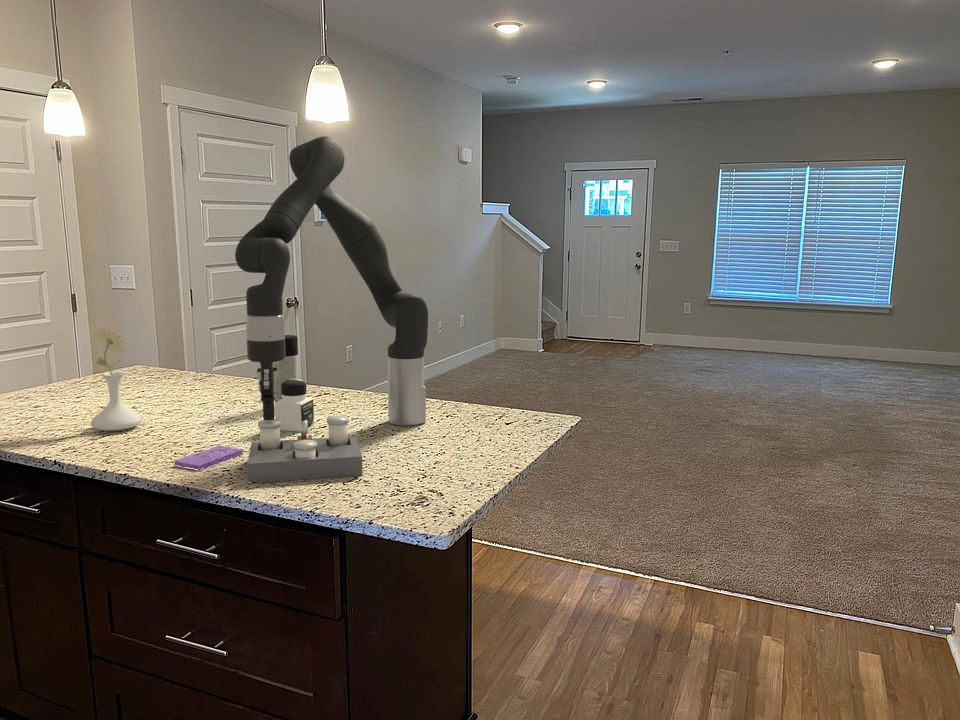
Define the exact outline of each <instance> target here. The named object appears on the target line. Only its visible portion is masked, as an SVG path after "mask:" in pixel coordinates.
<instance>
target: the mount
mask: <svg viewBox="0 0 960 720" xmlns="http://www.w3.org/2000/svg"><path fill="white" fill-rule="evenodd" d="M312 440H314V441H316V442H317V447H316V448H315V451H316V457H310V458H295V449H294V448H293V443H294V442H296V441H297V439H287V440H286V439H283V440H281V439H280V449H275V450H261V446H260V441H252V442H251V443H250V449H249V454H248V459H247V464H246V465H247V483H248V482H263V483H273V482H272V481H277V482H288V481H287V480H291V481H300V480H301V481H302V480H303V479H305V480H316V478H319V479H333V478H334V479H335V478H344V477H345V478H347V477H360V476H363V455H362V451H361V448H360V446H359V442H358V438H357V436H356V435H354V436H353V435H352V436H348V445H342V446H329V437H319V438H318V437H317V438H312ZM270 481H271V482H270Z"/></svg>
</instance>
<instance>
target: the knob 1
mask: <svg viewBox="0 0 960 720" xmlns="http://www.w3.org/2000/svg"><path fill="white" fill-rule="evenodd" d="M280 426H281V420H278V419H275V418H274V420H264V419H261V420H258V422H257V427H258V428H259V437H260V438H259V442H260V446H261V450H275V449H280V440H281V430H280Z"/></svg>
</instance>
